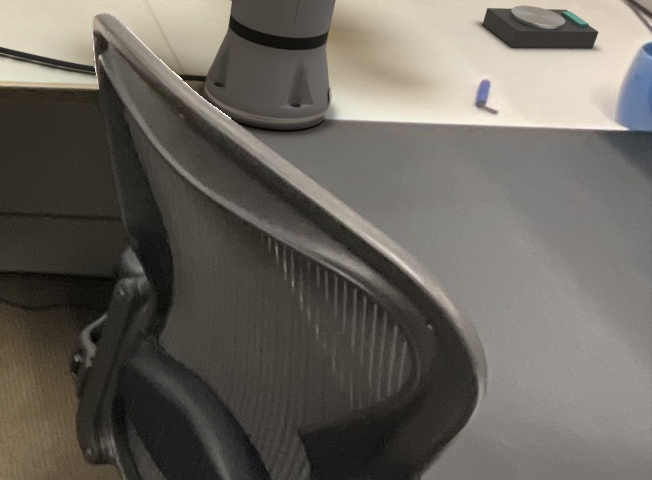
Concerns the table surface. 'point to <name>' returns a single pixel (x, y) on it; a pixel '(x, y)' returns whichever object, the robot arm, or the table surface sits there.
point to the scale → (539, 28)
